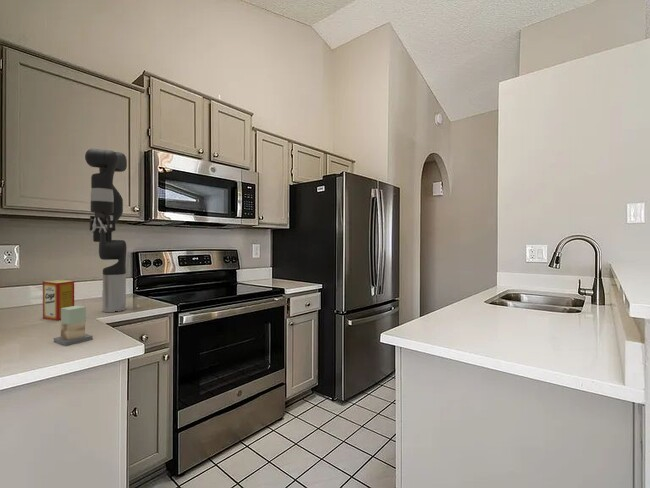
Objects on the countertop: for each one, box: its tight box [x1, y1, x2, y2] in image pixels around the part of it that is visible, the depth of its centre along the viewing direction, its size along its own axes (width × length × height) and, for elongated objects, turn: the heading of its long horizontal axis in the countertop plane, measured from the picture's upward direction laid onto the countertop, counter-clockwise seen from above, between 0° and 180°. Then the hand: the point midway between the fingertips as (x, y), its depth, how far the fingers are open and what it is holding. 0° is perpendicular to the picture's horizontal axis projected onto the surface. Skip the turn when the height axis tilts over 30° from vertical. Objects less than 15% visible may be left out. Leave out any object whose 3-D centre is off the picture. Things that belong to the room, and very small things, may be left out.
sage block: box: [60, 305, 87, 325], centre depth 111 cm, size 5×5×5 cm
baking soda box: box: [42, 279, 75, 322], centre depth 140 cm, size 10×6×16 cm
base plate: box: [53, 333, 94, 347], centre depth 111 cm, size 8×8×1 cm
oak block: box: [60, 322, 86, 340], centre depth 111 cm, size 5×5×5 cm
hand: (102, 242), depth 129 cm, fingers open, 8 cm apart
